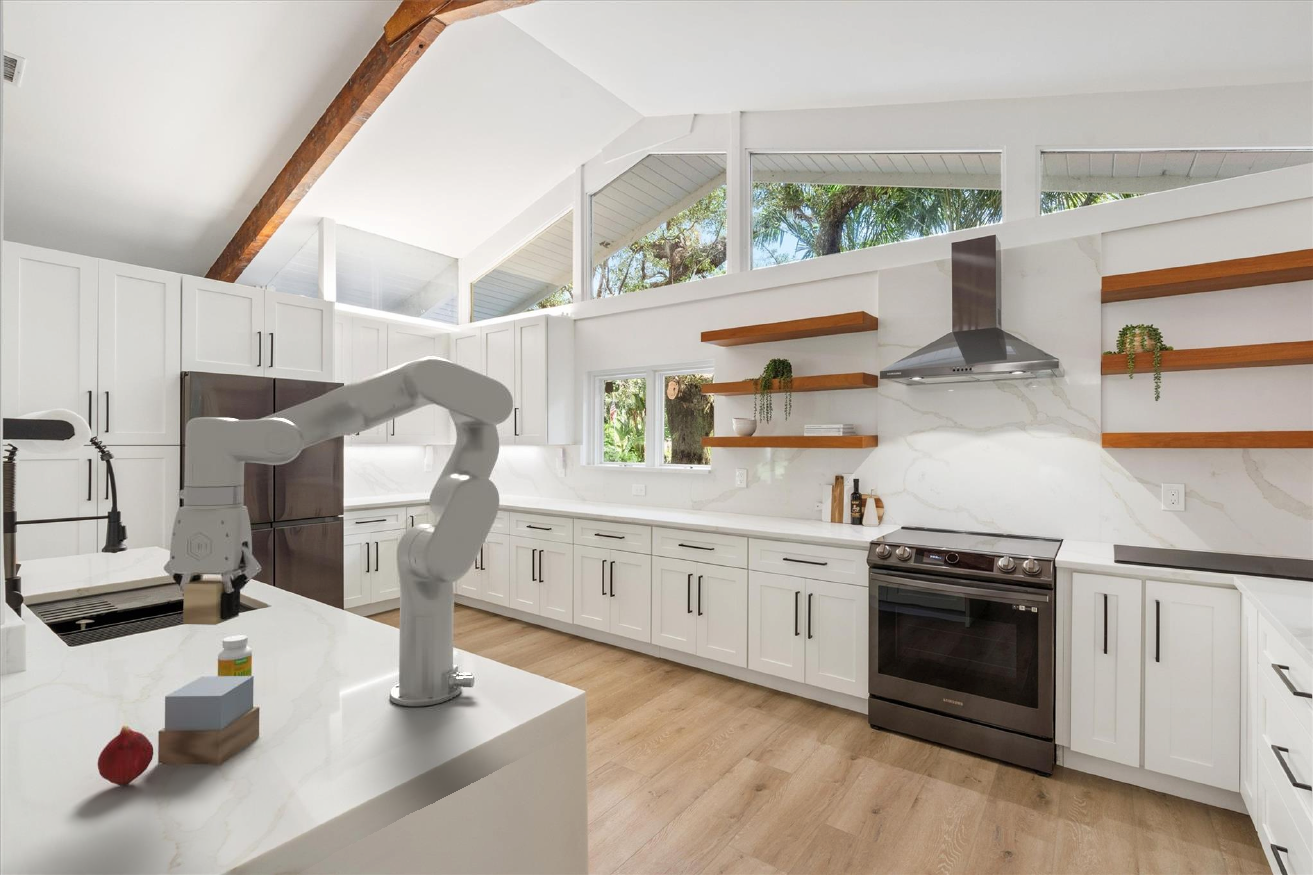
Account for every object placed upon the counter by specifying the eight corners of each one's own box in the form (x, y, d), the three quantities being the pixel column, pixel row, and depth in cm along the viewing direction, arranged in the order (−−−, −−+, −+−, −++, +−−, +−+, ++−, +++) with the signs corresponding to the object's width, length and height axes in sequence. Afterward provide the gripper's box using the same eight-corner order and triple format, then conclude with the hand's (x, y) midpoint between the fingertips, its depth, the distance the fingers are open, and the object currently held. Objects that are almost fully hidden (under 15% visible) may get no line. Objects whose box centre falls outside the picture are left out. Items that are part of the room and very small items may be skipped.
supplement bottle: (234, 696, 118) (235, 643, 118) (210, 693, 119) (210, 641, 119) (258, 685, 123) (258, 634, 124) (234, 683, 124) (235, 633, 125)
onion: (163, 773, 90) (163, 716, 90) (130, 796, 84) (131, 735, 85) (120, 774, 90) (121, 717, 90) (85, 796, 84) (86, 735, 84)
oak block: (215, 624, 95) (216, 584, 95) (183, 624, 95) (184, 583, 96) (238, 616, 100) (239, 577, 100) (208, 615, 100) (208, 577, 101)
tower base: (259, 738, 102) (259, 706, 102) (218, 767, 93) (218, 732, 93) (204, 737, 102) (204, 705, 102) (158, 765, 93) (158, 731, 93)
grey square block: (253, 707, 102) (253, 675, 102) (221, 730, 94) (221, 695, 94) (201, 708, 101) (201, 676, 101) (164, 730, 93) (165, 696, 93)
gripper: (140, 498, 95) (137, 622, 95) (251, 500, 94) (249, 624, 94) (180, 495, 102) (177, 609, 102) (283, 496, 102) (281, 611, 101)
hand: (211, 615), depth 98 cm, fingers closed on oak block, 5 cm apart
